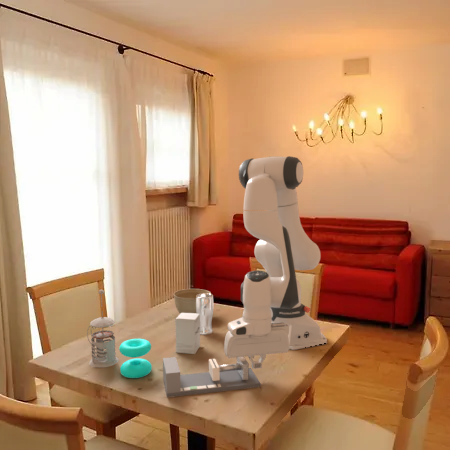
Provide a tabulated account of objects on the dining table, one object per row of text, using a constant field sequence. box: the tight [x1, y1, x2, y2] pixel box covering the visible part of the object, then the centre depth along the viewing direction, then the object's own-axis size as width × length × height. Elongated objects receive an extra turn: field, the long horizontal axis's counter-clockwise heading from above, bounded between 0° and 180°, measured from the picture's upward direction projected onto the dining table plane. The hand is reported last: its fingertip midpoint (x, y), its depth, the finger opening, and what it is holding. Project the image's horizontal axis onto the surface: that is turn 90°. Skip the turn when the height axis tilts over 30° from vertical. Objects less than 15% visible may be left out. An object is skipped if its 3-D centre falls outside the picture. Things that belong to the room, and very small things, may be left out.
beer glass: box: [196, 293, 215, 336], centre depth 187 cm, size 7×7×15 cm
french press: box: [86, 289, 119, 368], centre depth 159 cm, size 10×12×25 cm
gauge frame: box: [162, 356, 261, 398], centre depth 143 cm, size 28×11×7 cm, turn 103°
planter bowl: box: [173, 288, 212, 314], centre depth 205 cm, size 16×16×11 cm
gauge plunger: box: [218, 356, 250, 380], centre depth 145 cm, size 9×8×5 cm
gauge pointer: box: [208, 358, 220, 381], centre depth 143 cm, size 2×6×4 cm, turn 13°
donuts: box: [118, 338, 153, 379], centre depth 151 cm, size 10×10×10 cm
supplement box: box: [175, 313, 201, 355], centre depth 169 cm, size 7×7×13 cm
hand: (256, 367), depth 146 cm, fingers closed
